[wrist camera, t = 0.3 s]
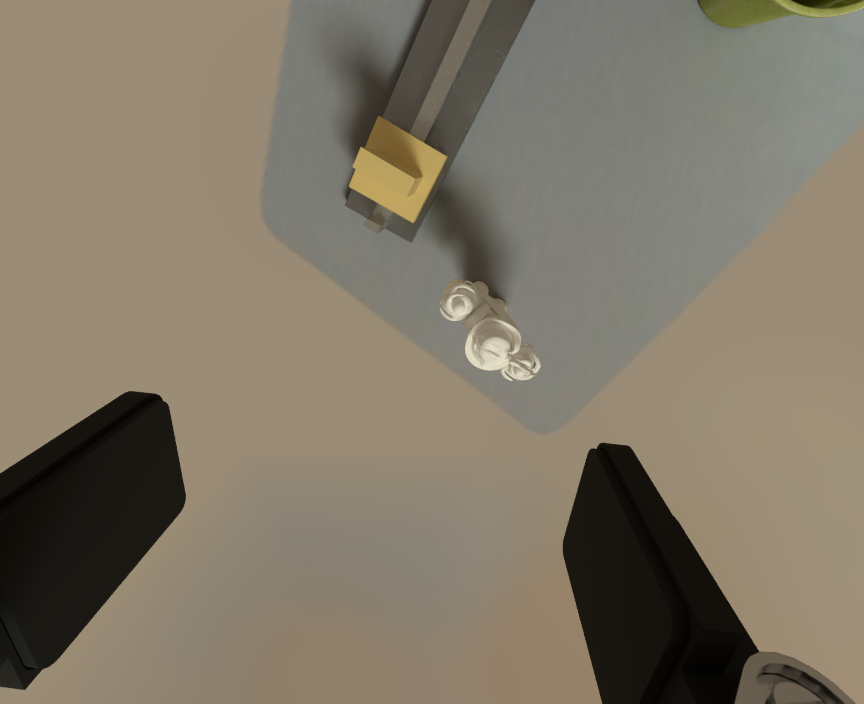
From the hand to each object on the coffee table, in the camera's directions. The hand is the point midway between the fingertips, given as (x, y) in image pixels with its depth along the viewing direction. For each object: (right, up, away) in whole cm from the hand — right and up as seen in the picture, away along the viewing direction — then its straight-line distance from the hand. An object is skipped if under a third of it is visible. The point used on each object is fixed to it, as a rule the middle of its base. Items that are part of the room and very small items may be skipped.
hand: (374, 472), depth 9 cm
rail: (+1, +21, +22) cm, 30 cm away
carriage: (-1, +17, +22) cm, 28 cm away
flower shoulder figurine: (+6, +7, +28) cm, 29 cm away
